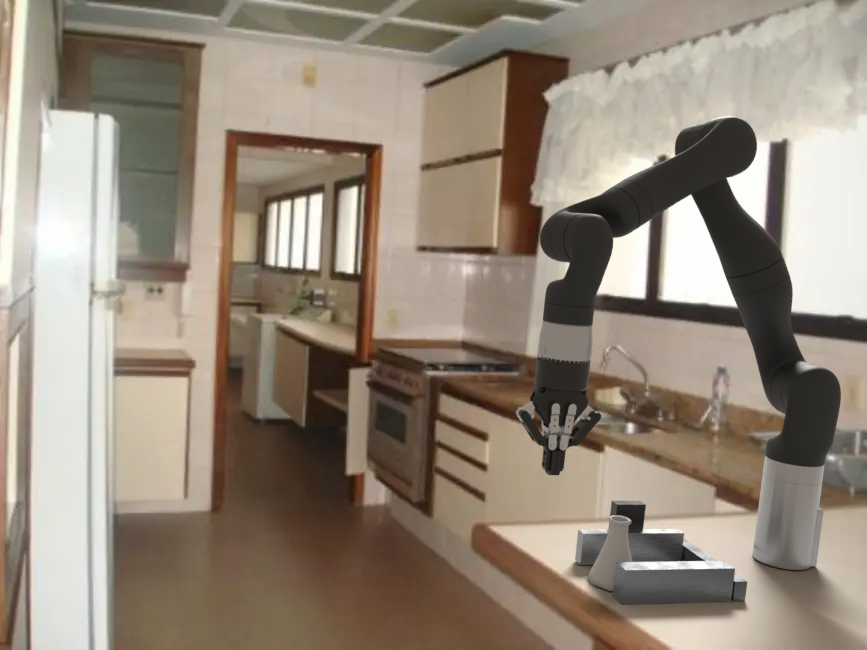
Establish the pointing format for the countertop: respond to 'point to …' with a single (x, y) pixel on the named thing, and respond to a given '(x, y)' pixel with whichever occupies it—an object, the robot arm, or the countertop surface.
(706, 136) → the robot arm
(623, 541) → the flask
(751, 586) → the countertop surface
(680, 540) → the vise jaw sliding
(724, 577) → the vise fixed
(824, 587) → the countertop surface
